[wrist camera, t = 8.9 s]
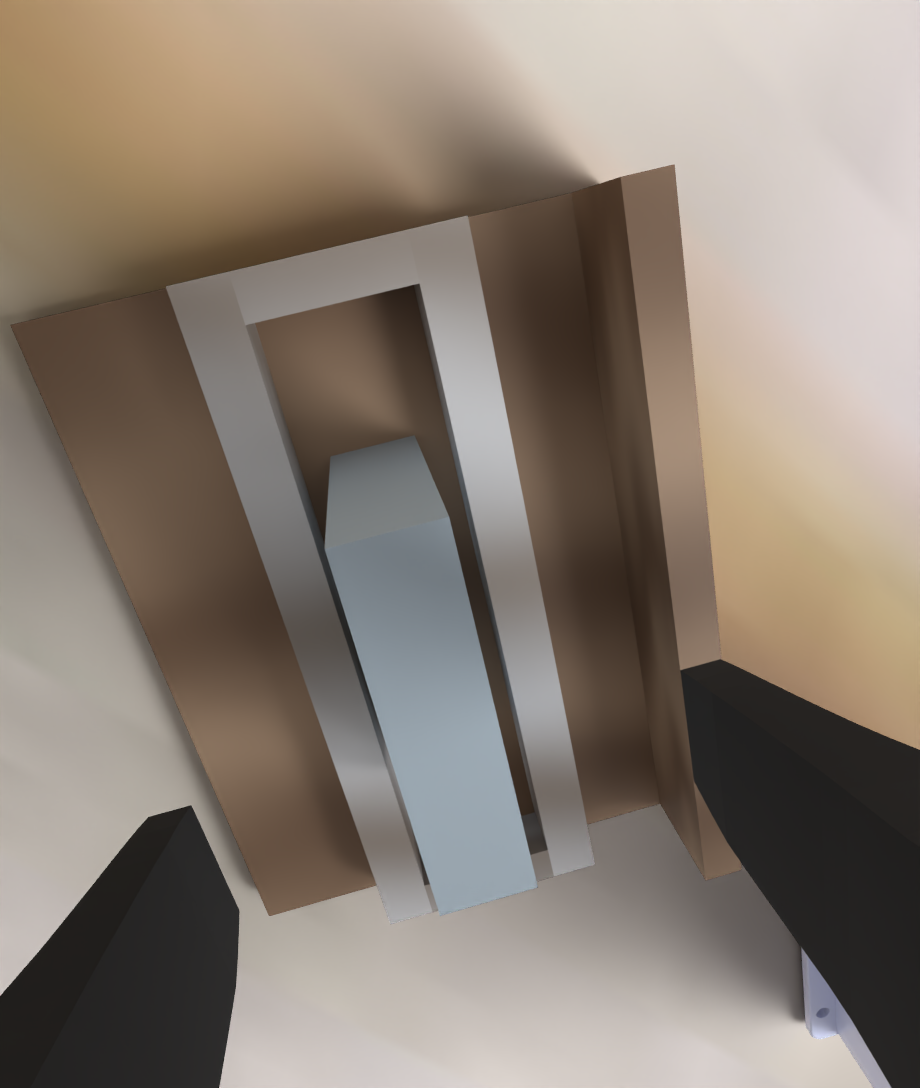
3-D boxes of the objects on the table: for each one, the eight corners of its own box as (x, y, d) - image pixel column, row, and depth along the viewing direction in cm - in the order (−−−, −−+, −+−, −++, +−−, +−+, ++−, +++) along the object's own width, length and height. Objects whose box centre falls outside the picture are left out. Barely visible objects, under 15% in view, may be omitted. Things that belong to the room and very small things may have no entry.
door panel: (483, 715, 20) (537, 887, 15) (412, 735, 20) (440, 915, 14) (414, 435, 17) (449, 517, 12) (330, 456, 17) (324, 549, 11)
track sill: (680, 777, 23) (741, 870, 19) (271, 894, 22) (258, 1012, 19) (603, 185, 17) (674, 164, 13) (26, 322, 16) (-65, 338, 12)
